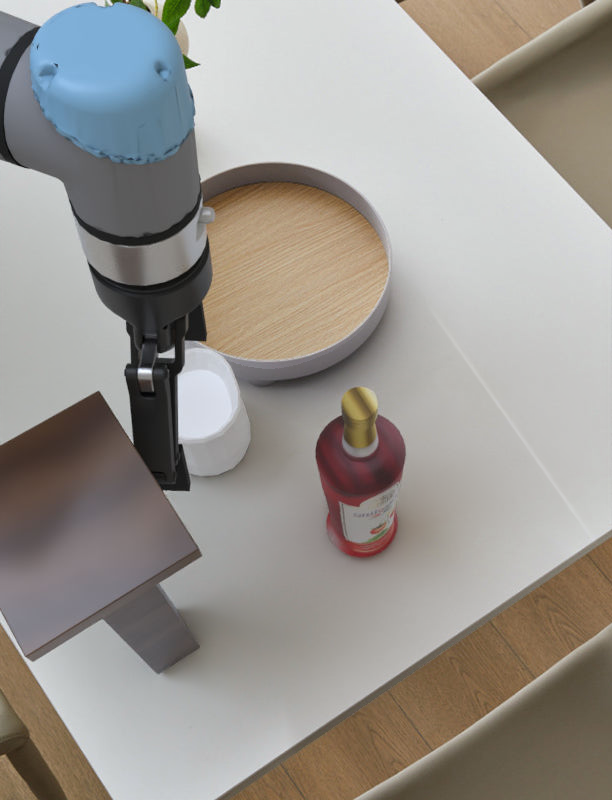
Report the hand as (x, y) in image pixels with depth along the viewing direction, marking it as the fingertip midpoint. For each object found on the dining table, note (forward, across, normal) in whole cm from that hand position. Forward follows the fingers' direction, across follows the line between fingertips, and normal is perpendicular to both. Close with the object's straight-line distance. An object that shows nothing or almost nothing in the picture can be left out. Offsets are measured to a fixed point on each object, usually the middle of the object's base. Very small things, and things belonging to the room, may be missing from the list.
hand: (181, 408), depth 81 cm
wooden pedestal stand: (+22, -12, +2) cm, 25 cm away
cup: (+21, +8, 0) cm, 22 cm away
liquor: (+20, -1, -16) cm, 26 cm away
